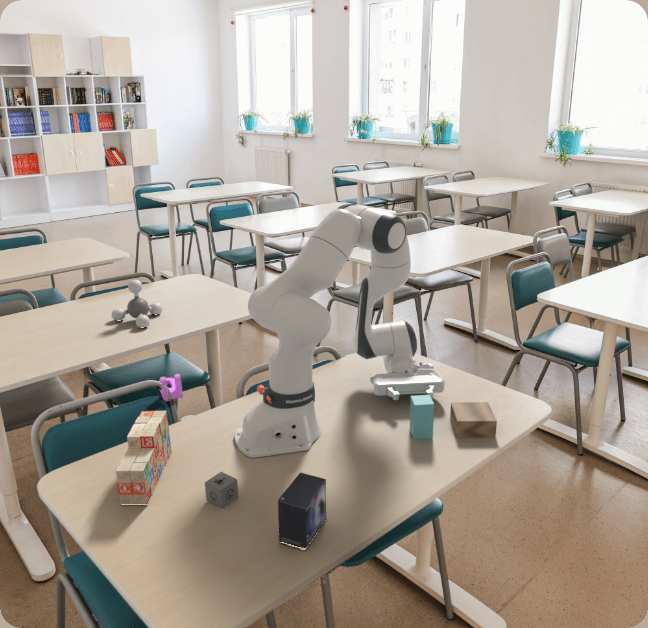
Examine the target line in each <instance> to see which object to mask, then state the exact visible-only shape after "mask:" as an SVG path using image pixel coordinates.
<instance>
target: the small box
mask: <svg viewBox="0 0 648 628" xmlns="http://www.w3.org/2000/svg"><path fill="white" fill-rule="evenodd" d="M276 501H277V520H278V521H277V523H278V524H277V525H278V543H279V542H284V543H287V544H291V545H294V546H297V547H301V548H306V547H307V546H308V545H309V543H310V542H311V541H312V539H313V538H314V536H315V535H316V533H317V532H318V530H319V529H320V528H322V527H323V526H322V524H323V523H324V522H325V523H326V521H327V479H325V478H323V477H320V476H315V475H312V474H308V473H305V472H299V474H298V475H297V476H296V477H295V478H294V479H293V480H292V482H291V483H290V484H289V486H288V487H287V488H286V489H285V491H284V492H283V493H282V494H281V495H280V497H279V498H278V499H277V500H276ZM325 520H326V521H325ZM325 523H324V524H325ZM324 524H323V525H324ZM321 526H322V527H321ZM320 530H321V529H320ZM320 530H319V531H320ZM318 533H319V532H318ZM318 533H317V534H318ZM316 536H317V535H316ZM316 536H315V537H316ZM314 539H315V538H314ZM314 539H313V540H314ZM312 542H313V541H312ZM312 542H311V543H312ZM309 546H310V545H309Z"/></svg>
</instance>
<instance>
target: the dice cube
mask: <svg viewBox="0 0 648 628" xmlns="http://www.w3.org/2000/svg"><path fill="white" fill-rule="evenodd" d="M238 484H239V483H238V479H237V478H235V477H233V476H231V475H229V474H227V473H225V472H224V471H220V472H218V473H217V474H215V475H213V476H212V477H211V478H209V479H208V480H206V481H204V489H205V500H206V502H207V501H208V502H207V503H209V502H210V503H209V504H211V505H213V506H214V507H216V506H217V508H218V507H219V509H221V510H222V509H223V510H224V509H226V508H227V507H228V506H229V504H230V503H231V502H232V503H234V502H235V501H237V500H238V499H239V498H240V497H239V488H238V487H239V486H238ZM233 501H234V502H233ZM232 503H231V504H232ZM231 504H230V505H231ZM226 506H227V507H226Z"/></svg>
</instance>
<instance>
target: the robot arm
mask: <svg viewBox="0 0 648 628" xmlns="http://www.w3.org/2000/svg"><path fill="white" fill-rule="evenodd" d="M355 247H358V248H360V249H362V250H366V251H370V260H371V263H370V264H371V265H370V266H371V267H370V269H369V272H368V274H367V275H366V277H365V278H363V279H362V281H361V284H360V289H359V296H358V305H357V316H356V325H355V331H354V336H353V346H354V347H353V348H354V350H355V352H356V354H357V355H358V356H360V357H361V358H363V359H365V360H371V359H374V358H377V357H382V356H383V366H384V368H385V371H386V373H378V374H377V373H376V374H375V375H374V376H370V378H369V382H370V383H371V384H372V385H373V386H372V387H373V388H372V390H373V394H374V395H376V396H389V397H390V398H392V399H393V401H397V400H400V395H414V394H415V395H416V394H417V395H419V394H425V395H430V397H431V399H433V397H434V394H435V393H436V394H437V393H439V394H440V393H443V392H444V391H445V386H446V385H445V384H446V383H445V379H444V377H443V375H442V374H441V373H440V371H438V370H437V369H435V368H434V364H432V363H428V362H419V361H416V360H413V359H414V356H415V355H416V353H417V350H418V340H417V335H416V333H415V330H414V328H413V326H412V325H411V324H410V322H407V321H406V320H397V321H390V322H385V323H378V324H372V317H373V308H374V306H375V304H376V303H377V302H378V301H379V300H381V299H382V298H383V297H386V295H389V294H391V293H392V292H395V291H397V290H399V289H400V288H402V287H403V286H404V285H405V284H406V282H407V281H408V280H409V278H410V274H411V250H410V245H409V240H408V234H407V227H406V224H405V222H404V220H403V219H402V217H400V216H399V215H397V214H395V213H393V212H386V211H385V210H382V209H378V208H375V207H373V206H367V205H360V204H356V203H345V204H342V205H340V206H339V207H337V208H335V209H333V210H331V211H330V212H329V213H328V214H327V215H326V216H325V217H324V218H323V219H322V220H321V222H320V223H319V224H318V225H317V227H316V228H315V229H314V231H312V234H311V235H310V237H309V238H308V240H307V241H306V242H305V245H304V246H302V249H301V250H300V252H299V254H298V255H297V256H296V258H295V260H294V261H292V263H291V264H290V265H289V266H288V267H287V268H286V269H285V270H284V271H283V272H282V273H281V274H280V275H278V277H277V278H275V279H273V280H272V281H271V282H269V283H267V284H265V285H263V286H259V287H258V288H256V289H255V290H253V292H252V293H251V295H250V296H249V299H248V302H247V311H248V314H249V316H250V317H251V318H252V319H253V320H254V321H255V322H256V323H257V324H258V325H260V326H261V327H262V328H264V329H266V330H268V331H271V332H273V333H275V334H277V337H278V345H277V348H276V349H275V350H274V351H273V352H272V353H271V354H270V355H269V357H268V360H267V363H268V378H269V384H268V386H267V387H265V386H264V385H263V384H259V385H258V386H257V387H256V392H258V394H259V395H262V399H261V400H260V401H259V402H258V403H257V404H256V405H254V406H253V408H251V409H250V410H249V411H248V412H246V414H245V415H244V417H243V422H242V427H239V428H238V429H237V428H236V430H235V433H234V442H235V445H236V447H237V448H238V450H239V451H240V452H241V453H242V454H243V455H245V456H247V457H249V458H252V459H253V458H255V459H256V458H261V457H269V456H276V455H284V454H290V453H296V452H297V453H298V452H303V451H308V450H310V449H311V447H312V444H313V443H314V442H315V441H317V439H318V438H319V437H320V436H321V435H320V434H321V428H320V426H319V423H318V419H317V414H316V408H315V402H316V389H315V382H314V380H313V379H314V378H313V359H314V353H315V350H316V347H317V345H318V344H320V343H321V342H323V341H324V340H325V338H326V337H327V336H328V334H329V333H330V330H331V327H332V318H331V314H330V312H329V310H328V309H327V308H326V307H325V306H324V305H322V304H321V303H319V302H318V301H317V300H315V299H313V298H311V297H313V296H315V295H316V294H317V293H320V292H321V291H325V290H327V289H329V288H330V287H331V286H332V285H333V284H334V283H335V282H336V279H337V278H338V276H339V275H340V273H341V271H342V269H343V267H344V266H345V265H346V263H347V261H348V259H349V258H350V257H351V254H352V253H353V251H354V249H355Z"/></svg>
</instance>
